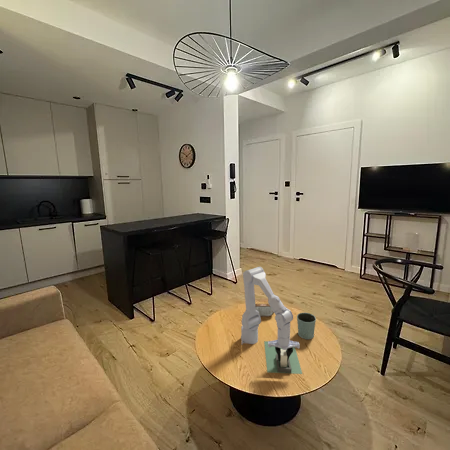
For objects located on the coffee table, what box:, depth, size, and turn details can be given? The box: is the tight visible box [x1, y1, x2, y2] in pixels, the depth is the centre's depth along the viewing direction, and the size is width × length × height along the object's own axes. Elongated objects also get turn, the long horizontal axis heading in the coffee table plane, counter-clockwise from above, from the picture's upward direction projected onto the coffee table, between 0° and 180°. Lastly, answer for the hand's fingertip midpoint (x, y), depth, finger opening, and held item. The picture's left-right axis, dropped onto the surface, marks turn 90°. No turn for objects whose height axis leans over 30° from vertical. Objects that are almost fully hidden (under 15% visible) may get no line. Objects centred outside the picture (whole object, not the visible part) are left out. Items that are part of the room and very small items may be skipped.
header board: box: [263, 340, 303, 375], centre depth 124 cm, size 16×22×3 cm
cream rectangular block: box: [280, 349, 287, 367], centre depth 119 cm, size 3×5×6 cm, turn 175°
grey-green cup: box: [296, 312, 317, 340], centre depth 140 cm, size 10×10×12 cm
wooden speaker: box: [255, 303, 275, 317], centre depth 162 cm, size 15×3×8 cm, turn 87°
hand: (283, 359), depth 118 cm, fingers closed on cream rectangular block, 3 cm apart
